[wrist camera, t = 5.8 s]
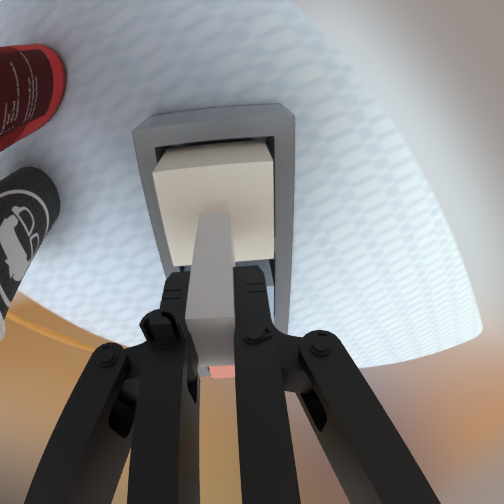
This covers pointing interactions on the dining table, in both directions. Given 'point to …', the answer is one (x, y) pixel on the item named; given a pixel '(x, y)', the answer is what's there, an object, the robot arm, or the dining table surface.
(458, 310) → the dining table surface
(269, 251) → the key ivory
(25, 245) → the coffee cup
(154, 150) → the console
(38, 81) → the canned food
